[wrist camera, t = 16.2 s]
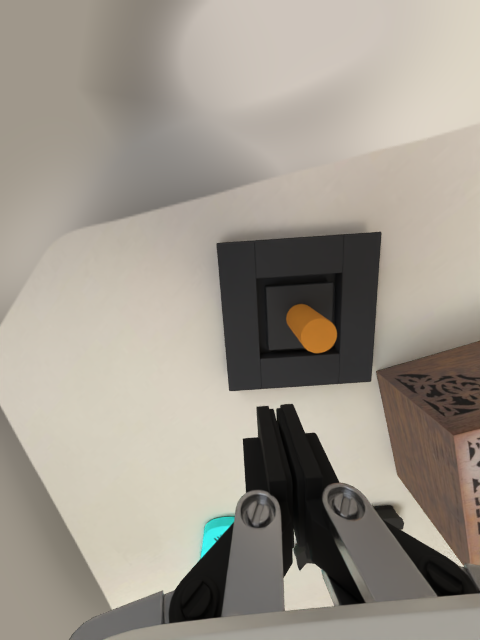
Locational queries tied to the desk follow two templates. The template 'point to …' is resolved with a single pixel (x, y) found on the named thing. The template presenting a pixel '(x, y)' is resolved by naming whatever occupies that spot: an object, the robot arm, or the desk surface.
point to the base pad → (289, 268)
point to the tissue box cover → (439, 440)
